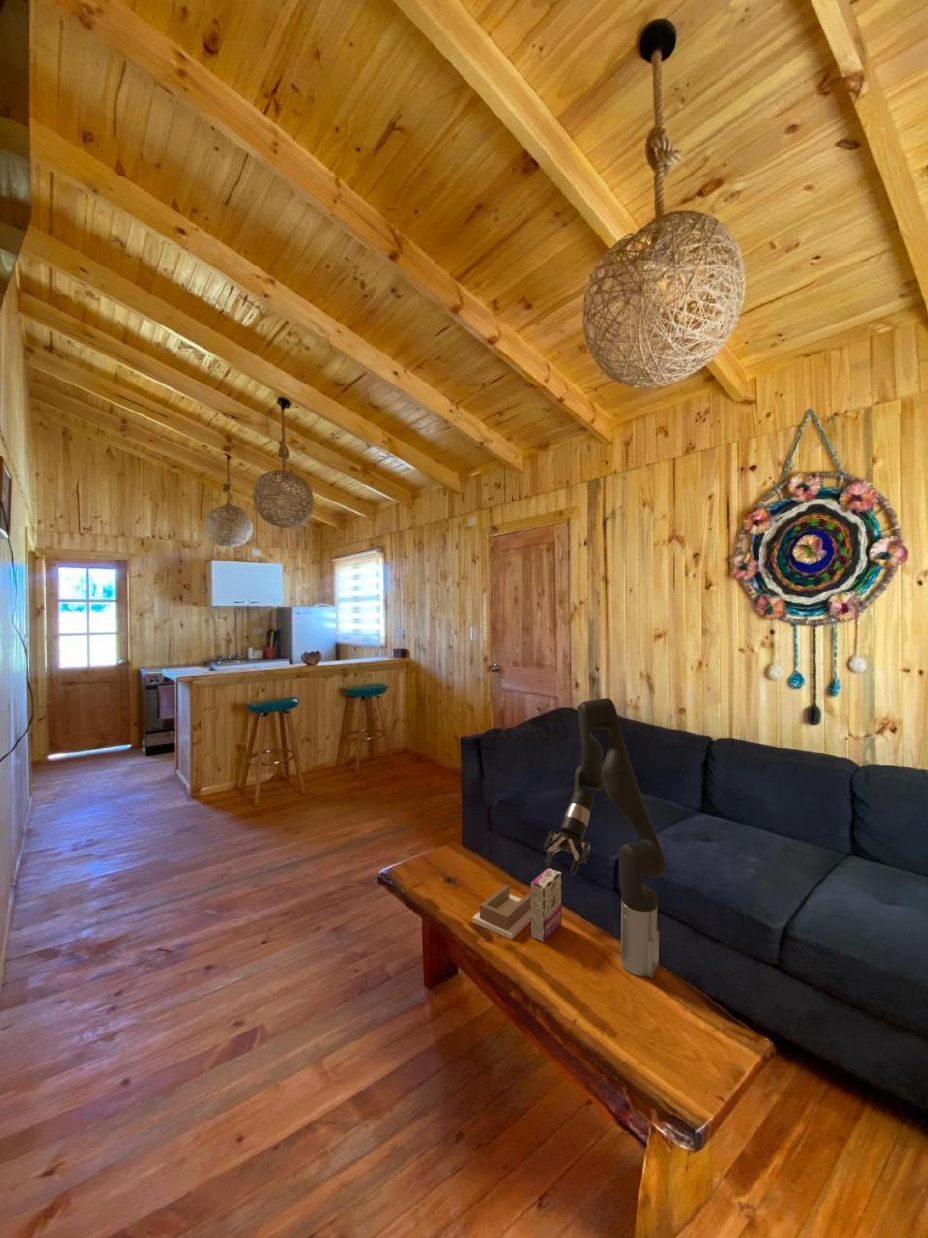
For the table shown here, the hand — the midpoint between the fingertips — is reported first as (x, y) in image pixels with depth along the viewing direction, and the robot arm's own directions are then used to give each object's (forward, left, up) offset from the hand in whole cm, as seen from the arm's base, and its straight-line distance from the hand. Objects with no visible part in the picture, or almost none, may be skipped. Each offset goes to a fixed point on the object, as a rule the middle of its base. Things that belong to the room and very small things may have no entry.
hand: (559, 869), depth 161 cm
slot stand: (+13, +10, -15) cm, 22 cm away
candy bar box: (0, +9, -15) cm, 18 cm away
